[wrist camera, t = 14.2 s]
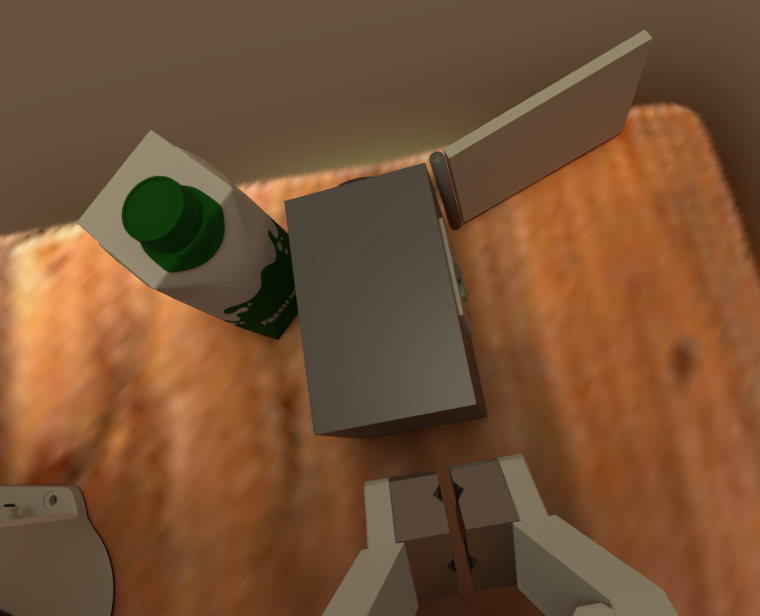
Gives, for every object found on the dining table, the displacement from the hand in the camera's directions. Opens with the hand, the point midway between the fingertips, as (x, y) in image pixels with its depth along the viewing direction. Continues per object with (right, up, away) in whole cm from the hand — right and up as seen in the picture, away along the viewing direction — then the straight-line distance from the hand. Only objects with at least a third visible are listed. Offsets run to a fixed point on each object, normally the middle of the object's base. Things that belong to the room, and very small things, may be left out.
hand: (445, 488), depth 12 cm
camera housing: (+1, +3, +35) cm, 35 cm away
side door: (+11, +15, +35) cm, 40 cm away
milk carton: (-11, +6, +39) cm, 41 cm away
